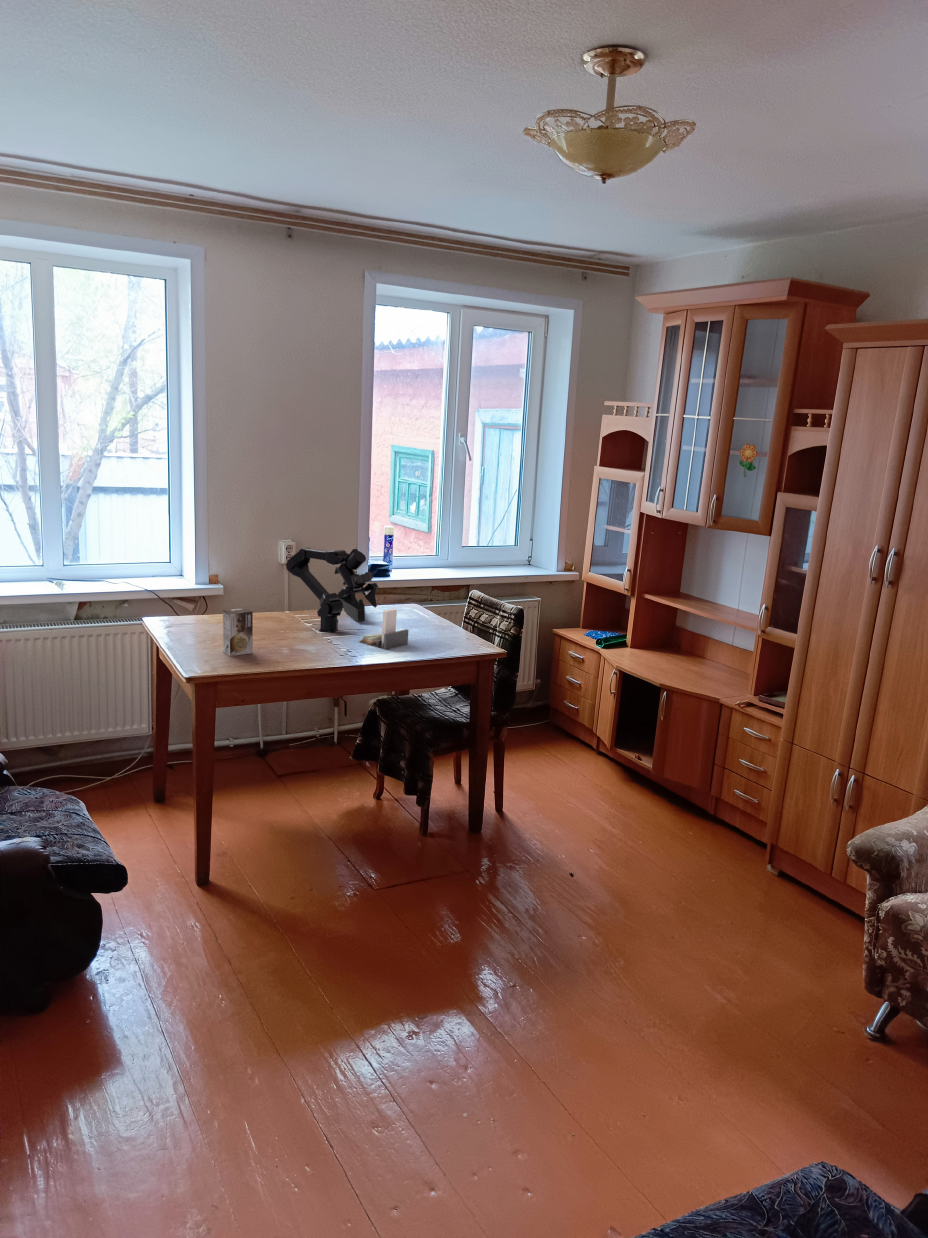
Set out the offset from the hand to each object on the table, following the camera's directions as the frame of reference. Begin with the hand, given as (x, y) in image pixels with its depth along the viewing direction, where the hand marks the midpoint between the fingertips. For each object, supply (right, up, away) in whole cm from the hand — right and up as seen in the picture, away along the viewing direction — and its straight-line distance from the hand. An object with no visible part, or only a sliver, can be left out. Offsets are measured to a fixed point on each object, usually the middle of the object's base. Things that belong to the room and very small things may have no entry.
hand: (368, 608), depth 350 cm
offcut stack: (+3, -13, 0) cm, 13 cm away
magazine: (-12, -3, +44) cm, 46 cm away
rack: (+6, -15, -2) cm, 16 cm away
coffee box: (-45, -17, -27) cm, 55 cm away
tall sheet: (+8, -14, -4) cm, 17 cm away
